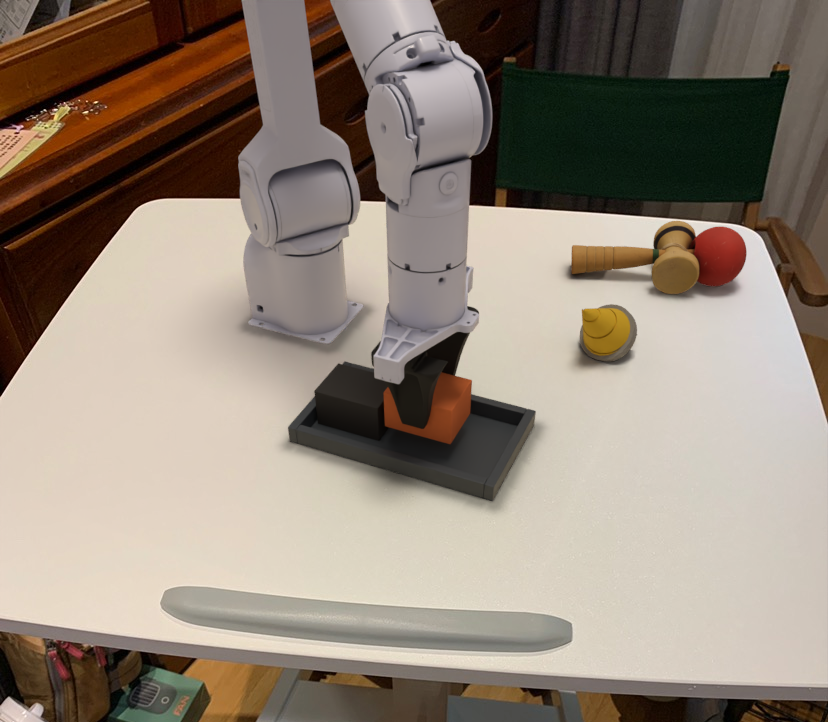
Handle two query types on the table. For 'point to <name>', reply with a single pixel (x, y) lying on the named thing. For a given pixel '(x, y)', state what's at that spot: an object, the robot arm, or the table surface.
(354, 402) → the black block
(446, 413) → the orange block
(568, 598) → the table surface
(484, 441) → the tray
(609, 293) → the table surface
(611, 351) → the spiral yellow cone
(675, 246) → the kendama
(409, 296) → the robot arm
